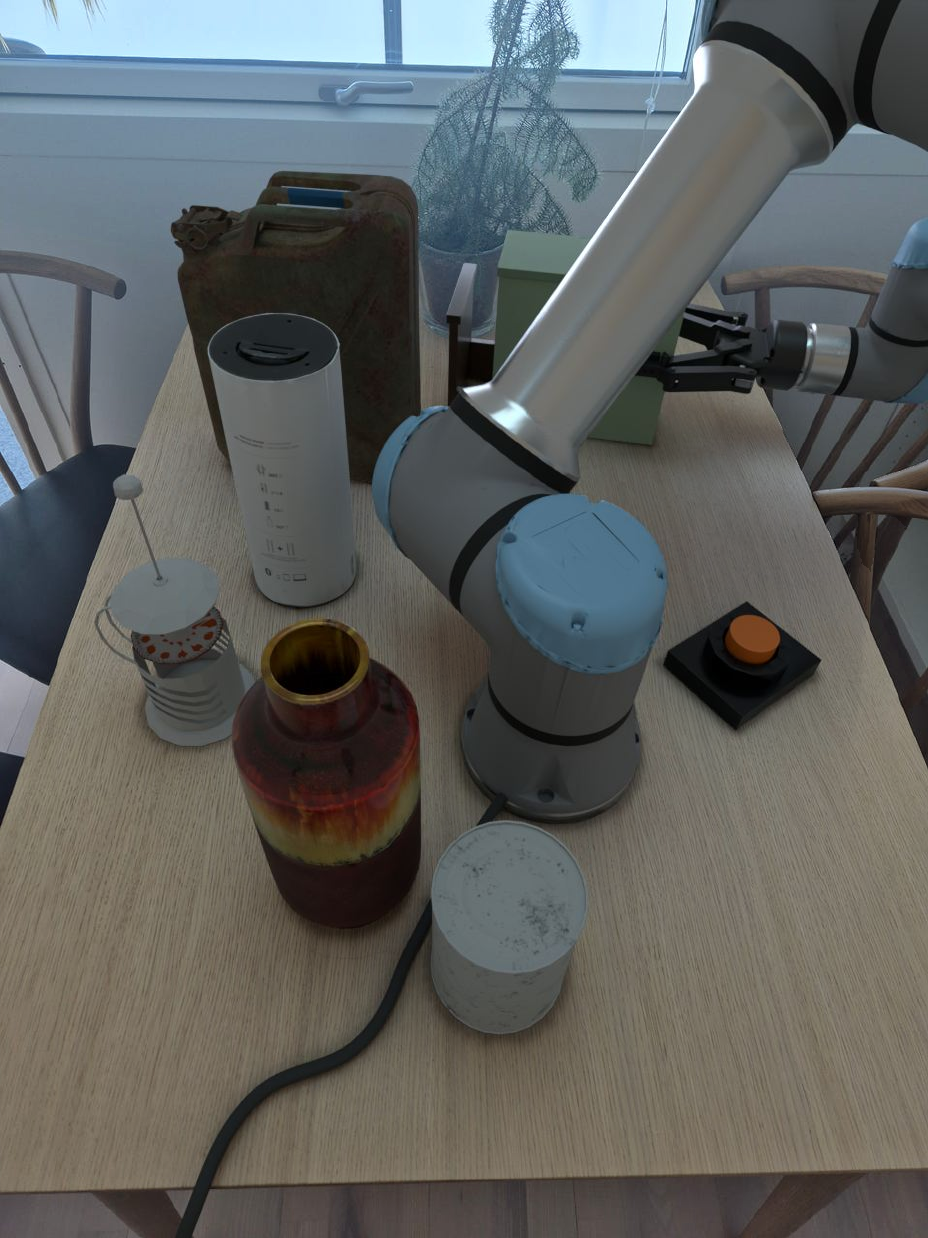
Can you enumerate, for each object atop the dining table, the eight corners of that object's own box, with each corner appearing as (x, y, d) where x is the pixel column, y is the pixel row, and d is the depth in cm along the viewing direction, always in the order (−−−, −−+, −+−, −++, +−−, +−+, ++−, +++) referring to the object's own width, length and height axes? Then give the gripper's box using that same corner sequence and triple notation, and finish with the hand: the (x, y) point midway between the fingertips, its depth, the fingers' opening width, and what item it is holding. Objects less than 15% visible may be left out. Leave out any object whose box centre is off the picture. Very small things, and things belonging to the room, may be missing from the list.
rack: (563, 385, 108) (579, 274, 97) (556, 442, 100) (572, 328, 89) (460, 373, 109) (463, 262, 98) (444, 429, 101) (446, 314, 90)
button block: (735, 730, 73) (748, 704, 70) (662, 665, 78) (672, 637, 75) (813, 674, 78) (829, 647, 75) (740, 615, 82) (752, 587, 79)
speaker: (376, 555, 86) (361, 323, 67) (328, 623, 80) (296, 389, 60) (287, 527, 89) (248, 295, 69) (234, 591, 82) (174, 355, 63)
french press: (234, 755, 70) (163, 538, 51) (105, 732, 71) (-11, 511, 52) (273, 666, 76) (222, 443, 57) (154, 646, 77) (66, 421, 58)
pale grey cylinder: (446, 1050, 55) (450, 991, 46) (418, 913, 61) (416, 836, 52) (581, 1016, 57) (611, 952, 48) (541, 885, 63) (560, 806, 54)
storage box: (653, 402, 106) (690, 246, 91) (653, 446, 100) (693, 287, 85) (496, 384, 108) (507, 229, 93) (487, 426, 102) (497, 267, 87)
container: (423, 437, 100) (421, 173, 77) (412, 490, 93) (407, 218, 71) (239, 422, 101) (185, 156, 78) (216, 474, 94) (149, 199, 72)
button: (751, 672, 73) (757, 659, 72) (714, 640, 75) (719, 628, 74) (784, 650, 75) (790, 637, 73) (746, 620, 77) (752, 607, 76)
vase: (389, 786, 68) (374, 561, 49) (445, 905, 62) (453, 700, 42) (258, 838, 65) (185, 618, 45) (303, 970, 58) (240, 779, 39)
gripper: (799, 441, 90) (592, 417, 91) (778, 338, 104) (600, 319, 106) (823, 380, 84) (602, 356, 86) (798, 280, 98) (609, 261, 100)
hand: (601, 336), depth 96 cm, fingers closed on storage box, 9 cm apart
